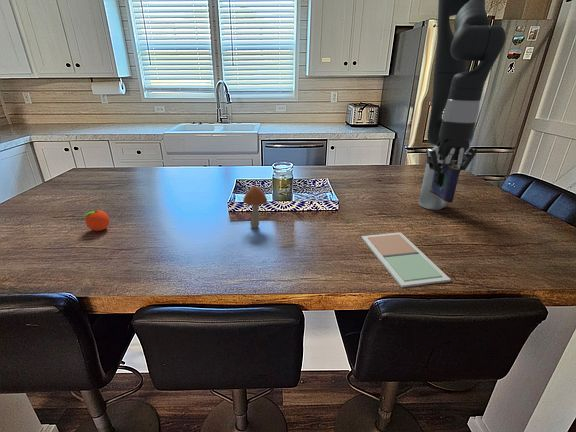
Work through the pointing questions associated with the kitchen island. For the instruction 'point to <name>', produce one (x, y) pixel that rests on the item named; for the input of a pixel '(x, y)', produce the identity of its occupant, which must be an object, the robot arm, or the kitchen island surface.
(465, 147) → the robot arm
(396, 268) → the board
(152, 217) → the kitchen island surface
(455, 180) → the flask
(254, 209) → the mushroom
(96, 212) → the clementine
